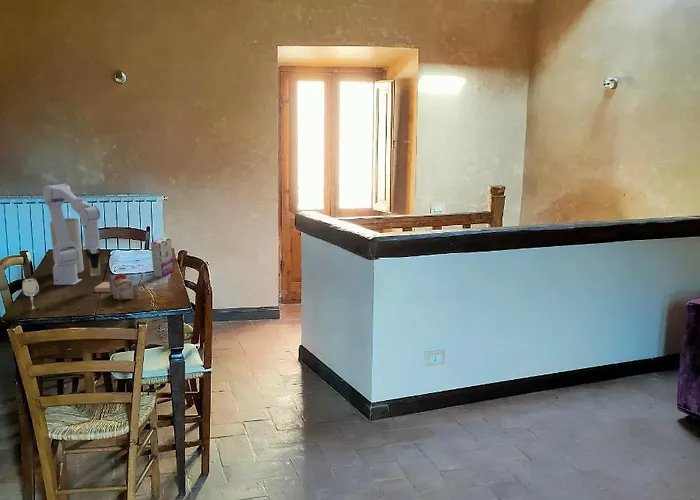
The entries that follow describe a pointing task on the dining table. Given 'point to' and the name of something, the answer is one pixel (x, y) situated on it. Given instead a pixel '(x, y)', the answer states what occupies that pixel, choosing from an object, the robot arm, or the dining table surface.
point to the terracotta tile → (103, 287)
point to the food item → (121, 287)
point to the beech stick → (95, 270)
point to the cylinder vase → (71, 238)
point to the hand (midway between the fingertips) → (94, 266)
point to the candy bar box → (162, 257)
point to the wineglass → (30, 288)
